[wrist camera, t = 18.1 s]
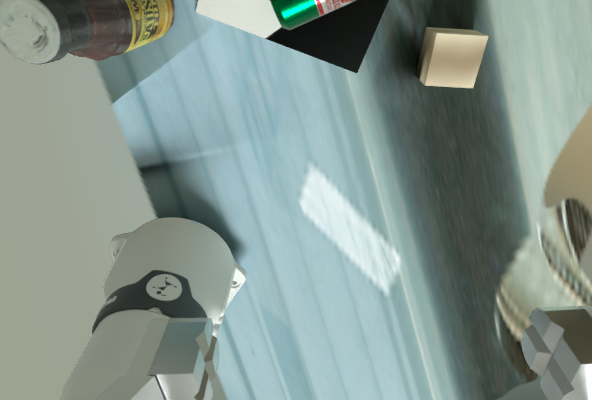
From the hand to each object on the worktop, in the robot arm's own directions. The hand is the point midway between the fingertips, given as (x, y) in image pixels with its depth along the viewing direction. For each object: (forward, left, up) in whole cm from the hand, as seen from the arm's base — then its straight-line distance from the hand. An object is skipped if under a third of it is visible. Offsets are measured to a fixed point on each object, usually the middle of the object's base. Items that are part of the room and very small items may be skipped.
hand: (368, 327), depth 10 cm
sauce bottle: (-2, +18, -37) cm, 41 cm away
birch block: (+4, -13, -37) cm, 40 cm away
